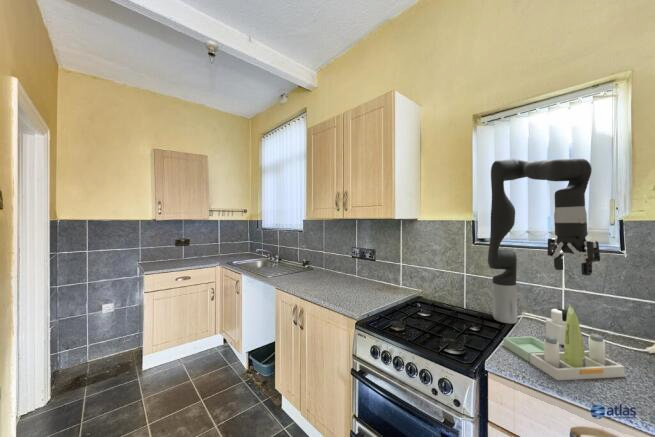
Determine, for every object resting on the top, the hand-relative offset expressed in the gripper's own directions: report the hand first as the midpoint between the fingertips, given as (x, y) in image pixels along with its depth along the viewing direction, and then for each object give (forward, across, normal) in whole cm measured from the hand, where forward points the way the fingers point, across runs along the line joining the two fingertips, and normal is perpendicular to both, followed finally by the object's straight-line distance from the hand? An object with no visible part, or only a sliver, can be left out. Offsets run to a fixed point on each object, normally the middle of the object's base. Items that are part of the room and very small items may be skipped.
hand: (572, 272), depth 81 cm
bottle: (+30, 0, -8) cm, 31 cm away
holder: (+30, 0, 0) cm, 31 cm away
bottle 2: (+30, 0, +7) cm, 31 cm away
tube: (+31, 0, 0) cm, 31 cm away
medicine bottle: (+31, -18, +14) cm, 38 cm away
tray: (+30, -11, -5) cm, 33 cm away
